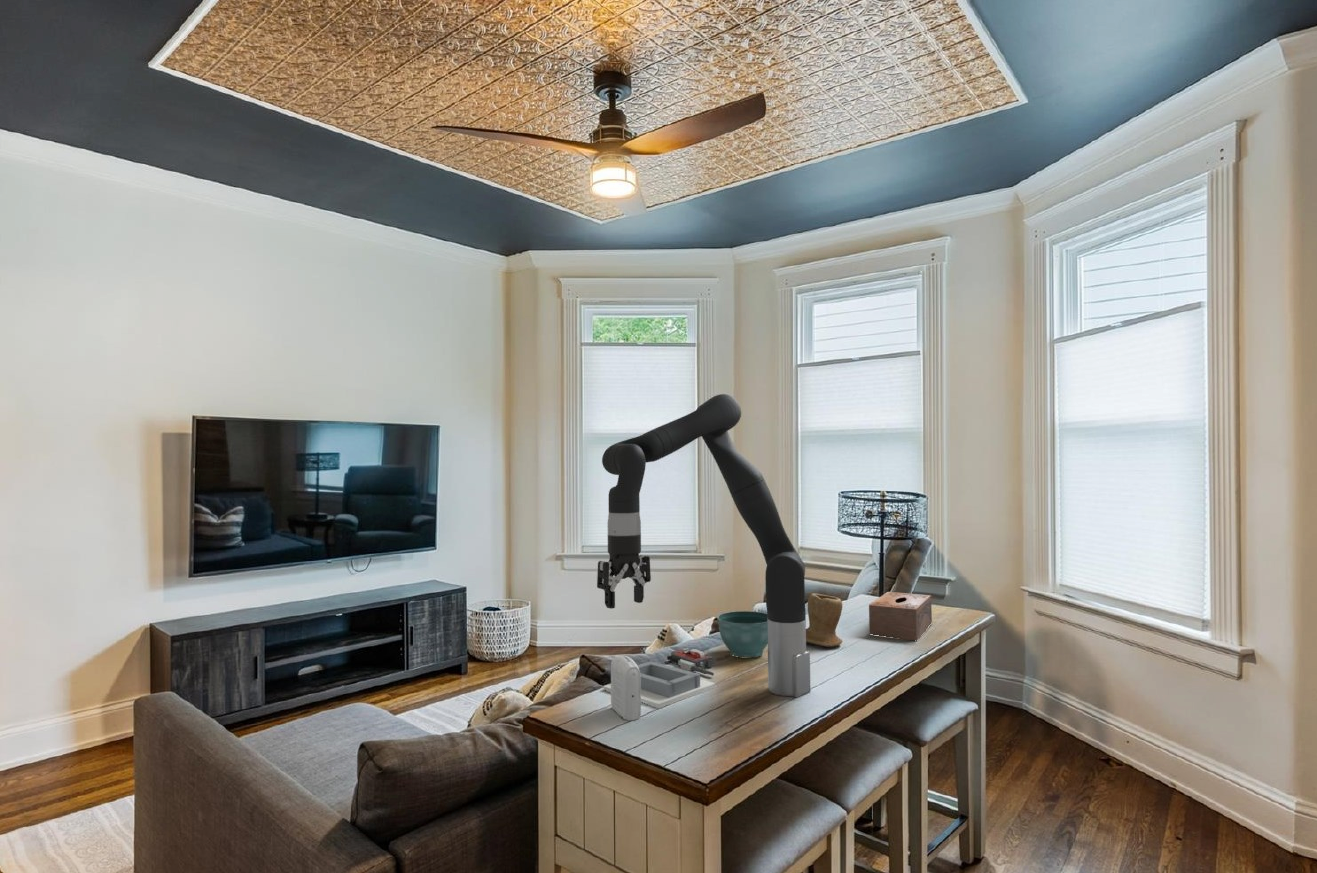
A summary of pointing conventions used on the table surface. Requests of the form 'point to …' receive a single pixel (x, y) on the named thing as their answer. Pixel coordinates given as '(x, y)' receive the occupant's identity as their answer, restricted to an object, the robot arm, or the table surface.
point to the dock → (666, 700)
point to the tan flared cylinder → (823, 620)
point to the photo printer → (625, 687)
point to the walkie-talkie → (692, 660)
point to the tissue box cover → (900, 615)
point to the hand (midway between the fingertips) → (624, 605)
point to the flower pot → (744, 632)
